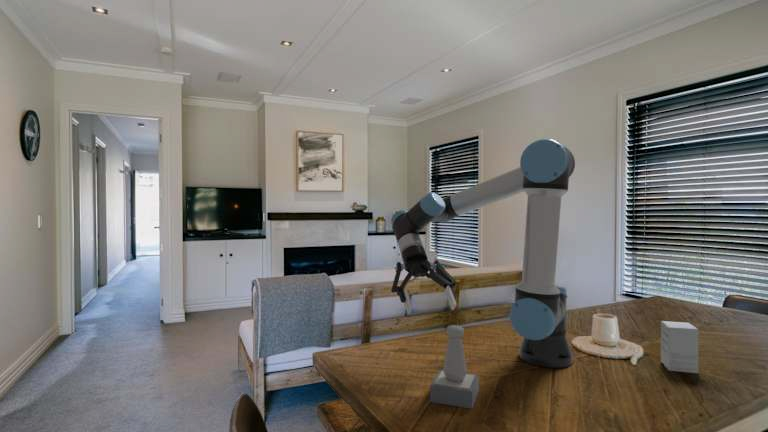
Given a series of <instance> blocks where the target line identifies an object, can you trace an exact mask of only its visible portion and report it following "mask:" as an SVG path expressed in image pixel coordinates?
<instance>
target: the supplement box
mask: <svg viewBox="0 0 768 432" xmlns="http://www.w3.org/2000/svg"><path fill="white" fill-rule="evenodd" d="M699 330H700V329H698V328H697V327H696V326H695V325H693V324H691V323H690V322H683V321H682V322H681V321H668V320H666V321H665V320H661V321H660V362H661V364H662V363H663V364H664V365H663V364H662V365H663V366H664V367H665V368H666V369H667V371H669V372H679V373H680V372H681V373H688V374H689V373H690V374H699Z"/></svg>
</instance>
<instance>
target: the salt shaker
mask: <svg viewBox="0 0 768 432" xmlns="http://www.w3.org/2000/svg"><path fill="white" fill-rule="evenodd" d="M445 332H446V333H445V334H446V336H447V337H448V339H447V340H448V341H447V345H446V350H445V357H444V361H443V368H442V370H443V372H444V374H445V376H446V379H447V380H449V381H451V382H461V381H463V380H464V378H465V376H466V374H468V373H467V371H468V368H467V367H468V366H467V362H466V358H465V357H466V356H465V352H464V346H463V339H462V338H463V337H464V334H465V331H464V328H463V327H462V325H457V324H452V325H448V326H447V327H446V331H445Z"/></svg>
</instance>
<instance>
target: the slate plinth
mask: <svg viewBox="0 0 768 432" xmlns="http://www.w3.org/2000/svg"><path fill="white" fill-rule="evenodd" d="M479 378H480V377H479V375H478V374H477V375H476V374H471V373H466V376H465V378H464V380H463V381H461V382H451V381H449V380H447V379H446V376H445V374H444V372H443V369H442V370H441V369H439V370H438V372H437V373H436V375H435V376H434V378H433V380H432V382H431V383H430V384H429V402H431V403H434V404H435V403H436V404H441V405H448V406H453V407H459V408H463V409H464V408H466V409H469V410H470V409H473V408H474V405H475V403H476V400H477V397H478V394H479V385H480V384H479V383H480V381H479Z"/></svg>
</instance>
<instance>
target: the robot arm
mask: <svg viewBox="0 0 768 432" xmlns="http://www.w3.org/2000/svg"><path fill="white" fill-rule="evenodd" d="M519 161H520V162H519V163H520V166H519V167H517V168H515V169H511V170H509V171H507V172H505V173H503V174H500V175H497V176H496V177H492V178H490V179H488V180H485V181H482V182H481V183H478V184H475V185H473V186H471V187H468V188H465V189H463V190H460V191H458V192H456V193H453V194H451V195H448V196H446V197H443V198H442V197H441V196H440V195H439V194H438V193H436V192H432V191H430V192H428V193H427V194H426V195H424V196H423V197H422V198H420V200H419V201H418V202H417V203H415V204H414V205H413V206H412V207H411V208H410V209H409V210H406V209H401V210H399V211H396V212H394V214H392V216H391V220H390V222H391V227H392V232H393V233H394V236H395V239H396V242H397V246H398V249H399V252H400V255H401V259H402V262H403V263H402V262H400V261H397V263H396V265H395V274H394V275H395V276H394V279H393V283H392V286H391V290H390V291H391V293H393V294H394V293H396V295H397V296H399V300H400V303H402V304H403V303H404V307H405V310H406V315H410V314H412V313H411V312H413V311H412V310H413V306H412V302H411V299H410V297H409V296H410V295H409V293H408V291H407V290H408V289H407V288H406V286H407V285H408V284H409V283H410V282H409V281H410V280H411V279H412V277H414V278H419V277H421V278H425V277H426V278H428V279H431V280H432V281H433V282H435V283H437V285H439V286H440V287H442V288H444V289H445V290H444V295H445V296H446V299H447V302H448V304H449V307H450V310H451V311H454V310H455V309H456V307H457V302H456V299H455V297H456V292H455V290H454V289H455V287H456V285H457V283H458V281H457V280H456V279H455V278H454V277H453V276H452V275H451V274H450V273H449V272H448V271H447V270H446V269H445V268H444V267H443V266H442V265H441V264H440V261H439V260H438V259H435V260H434V261H433V262H430V261H429V260H428V256H427V252H426V250H425V247H424V245H423V242H422V239H421V237H420V233H419V232H420V231H422V230H423V229H424V228H425V227H427V226H428V225H429V224H431V223H432V222H433V223H436V222H449V221H452V220H454V219H455V218H457V217H460V216H461V215H464V214H467V213H470V212H472V211H475V210H478V209H481V208H482V207H486V206H488V205H491V204H494V203H497V202H499V201H503V200H504V199H508V198H511V197H513V196H515V195H518V194H521V193H523V192H524V193H525V194H526V196H527V202H526V203H527V204H526V217H525V218H526V219H525V232H524V233H525V234H524V245H523V258H522V259H523V260H522V271H521V272H522V273H521V280H520V281H519V282H518V283H517V284H515V292H514V303H513V304H512V305H511V307H510V311H509V315H508V316H509V321H510V324H511V326H512V328H513V330H514V331H515V332H516V333H517V334H518V335H519V336H521V337H523V338H522V341H521V344H520V347H519V358H520V359H521V360H522V361H524V362H525V363H528V364H531V365H534V366H537V367H544V368H550V369H551V368H552V369H554V368H556V369H560V368H566V367H570V366H571V365H572V364H573V363H574V362H573V360H574V359H573V357H574V356H573V352H572V349H571V346H570V343H569V340H568V337H567V298H568V295H567V288H566V287H565V286H563V285H561V284H560V285H559V284H558V285H557V284H556V283H555V282H556V273H557V272H556V269H557V258H558V248H559V247H558V245H559V232H560V231H559V230H560V219H561V206H562V197H563V195H566V194H567V192H569V181H570V178H571V176H572V174H573V172H575V171H574V170H575V166H576V162H575V156H574V155H573V153H572V151H571V150H570V149H569V148H567V147H566V146H565V145H564V144H562V142H559V140H555V139H548V138H542V139H537V140H536V141H535V140H534V141H533V142H531V143H530V144H528V145H527V147H525V148H524V150H523V151H522V153H521V156H520V160H519ZM404 270H405V271H406V272H407V274H406V276H405V277H404V279H403V281H402V282H401V284H400V286H399V285H398V284H399V281H400V276H401V273H402V272H403V271H404Z"/></svg>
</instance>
